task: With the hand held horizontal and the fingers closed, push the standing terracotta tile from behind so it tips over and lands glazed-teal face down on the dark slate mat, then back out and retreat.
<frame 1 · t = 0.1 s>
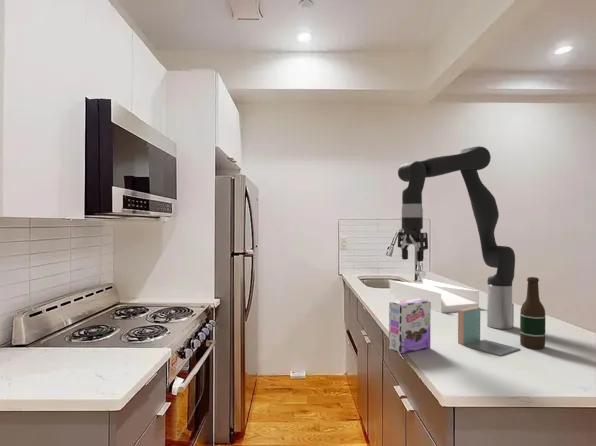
hand: (412, 260, 155), 29 cm above the countertop, tool pointing down, fingers open, 8 cm apart
slate mat: (492, 347, 145), on the countertop
beer bottle: (532, 346, 147), on the countertop
candy box: (409, 349, 144), on the countertop
building model: (431, 303, 224), on the countertop
tile: (469, 341, 152), on the countertop
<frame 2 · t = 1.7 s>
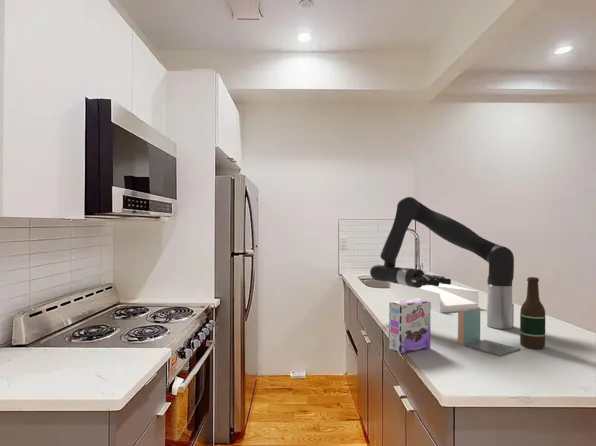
hand: (444, 282, 161), 20 cm above the countertop, tool horizontal, fingers open, 6 cm apart
nothing on the countertop moved.
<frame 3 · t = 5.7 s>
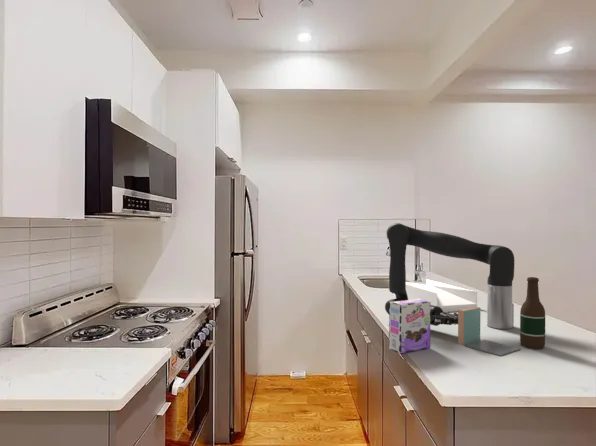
hand: (466, 323, 153), 7 cm above the countertop, tool horizontal, fingers closed
tile: (469, 341, 152), on the countertop, touching gripper
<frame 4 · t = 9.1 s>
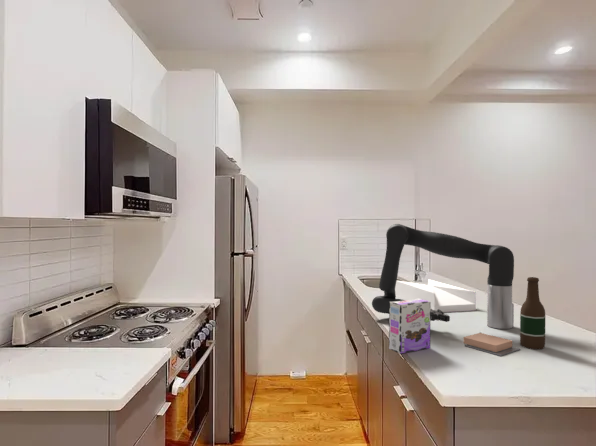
hand: (448, 318, 159), 7 cm above the countertop, tool horizontal, fingers closed
tile: (472, 337, 151), point 2 cm above the countertop, tilted 90°, touching slate mat
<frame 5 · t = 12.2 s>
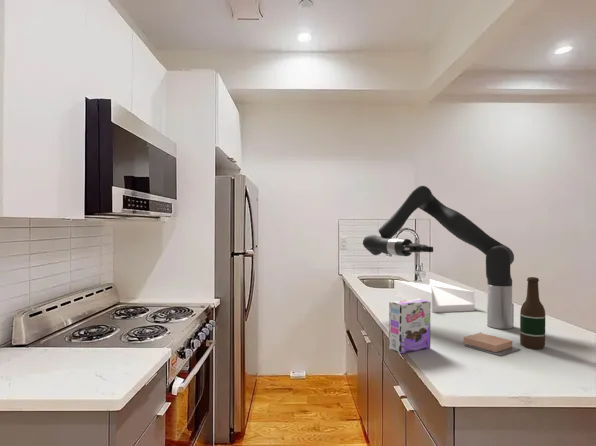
hand: (432, 249, 170), 32 cm above the countertop, tool horizontal, fingers closed
at the end: tile tilted 90°; tile touching slate mat; tile point 1.6 cm above the countertop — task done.
